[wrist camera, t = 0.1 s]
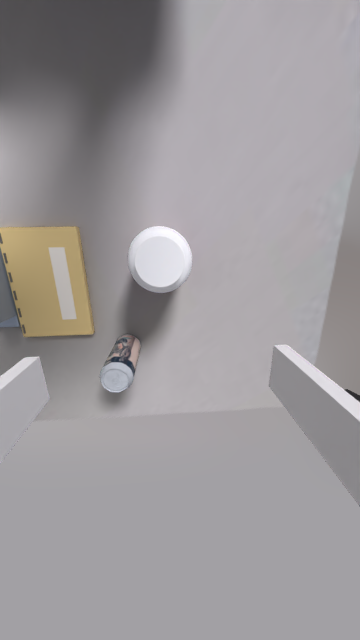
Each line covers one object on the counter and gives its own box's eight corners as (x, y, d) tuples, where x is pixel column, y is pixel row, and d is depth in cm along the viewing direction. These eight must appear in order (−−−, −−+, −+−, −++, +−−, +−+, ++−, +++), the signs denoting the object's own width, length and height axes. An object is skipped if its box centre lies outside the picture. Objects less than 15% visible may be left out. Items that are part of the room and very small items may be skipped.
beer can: (131, 328, 41) (118, 359, 30) (146, 348, 42) (139, 384, 31) (110, 341, 41) (90, 376, 30) (125, 360, 43) (111, 400, 32)
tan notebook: (0, 228, 34) (-6, 227, 33) (78, 227, 35) (75, 226, 34) (27, 334, 40) (23, 337, 39) (94, 331, 41) (92, 334, 39)
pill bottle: (145, 286, 39) (135, 307, 25) (131, 240, 36) (110, 234, 22) (189, 274, 39) (203, 288, 25) (178, 226, 36) (186, 213, 22)
